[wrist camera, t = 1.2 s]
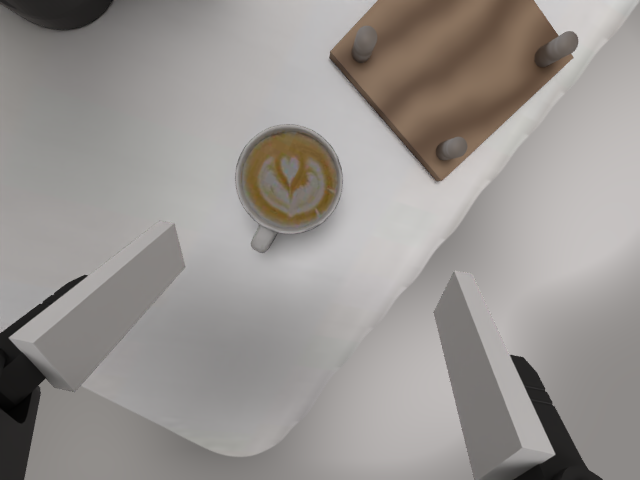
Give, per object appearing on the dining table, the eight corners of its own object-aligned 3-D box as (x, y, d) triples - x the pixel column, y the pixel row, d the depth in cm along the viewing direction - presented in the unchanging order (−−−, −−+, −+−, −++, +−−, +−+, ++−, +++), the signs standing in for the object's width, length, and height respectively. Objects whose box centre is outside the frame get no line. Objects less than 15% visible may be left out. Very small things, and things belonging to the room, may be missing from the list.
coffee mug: (289, 125, 34) (279, 99, 24) (350, 178, 35) (365, 174, 25) (225, 209, 35) (191, 217, 25) (285, 256, 37) (275, 281, 27)
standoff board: (329, 57, 32) (332, 36, 28) (459, -82, 30) (485, -128, 26) (436, 181, 35) (454, 179, 31) (561, 63, 33) (600, 44, 29)
